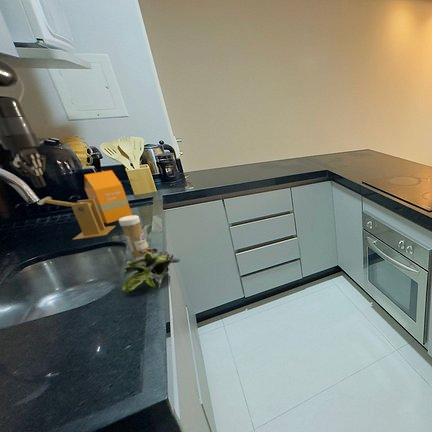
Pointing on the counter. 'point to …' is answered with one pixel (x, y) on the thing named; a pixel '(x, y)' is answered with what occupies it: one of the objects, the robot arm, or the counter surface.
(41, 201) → the lever
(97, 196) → the orange juice
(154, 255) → the green leafy plant
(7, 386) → the counter surface
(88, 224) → the wooden slotted stand
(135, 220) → the sprinkles bottle
